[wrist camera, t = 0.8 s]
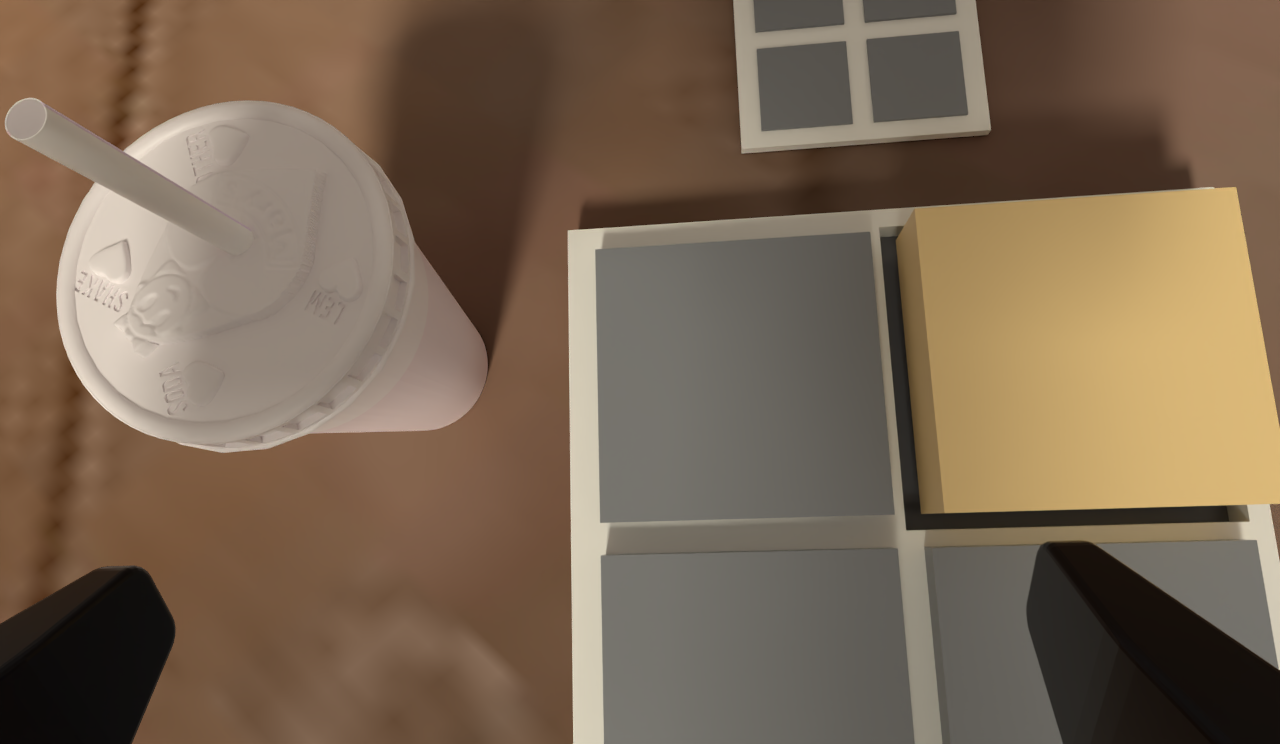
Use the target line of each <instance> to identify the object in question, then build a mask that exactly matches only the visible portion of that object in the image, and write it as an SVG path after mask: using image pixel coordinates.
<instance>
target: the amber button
mask: <svg viewBox="0 0 1280 744" xmlns="http://www.w3.org/2000/svg"><path fill="white" fill-rule="evenodd" d="M896 249H897V260H898V271H899V282H900V292H901V303H902V314H903V325H904V335H905V346H906V357H907V368H908V378H909V389H910V400H911V411H912V421H913V432H914V443H915V454H916V464H917V475H918V486H919V497H920V507H921V514H935V513H971V512H1006V511H1042V510H1077V509H1113V508H1148V507H1184V506H1219V505H1254V504H1280V428H1279V422H1278V417H1277V411H1276V406H1275V400H1274V395H1273V389H1272V384H1271V378H1270V372H1269V367H1268V361H1267V356H1266V350H1265V345H1264V339H1263V334H1262V328H1261V323H1260V317H1259V312H1258V306H1257V300H1256V295H1255V289H1254V284H1253V278H1252V273H1251V267H1250V262H1249V256H1248V251H1247V245H1246V240H1245V234H1244V228H1243V223H1242V217H1241V212H1240V206H1239V201H1238V195H1237V190H1236V187H1230V188H1215V189H1200V190H1185V191H1170V192H1155V193H1140V194H1125V195H1110V196H1095V197H1080V198H1066V199H1051V200H1036V201H1021V202H1006V203H991V204H976V205H961V206H946V207H931V208H916V209H914V210H913V212H912V214H911V216H910V217H909V219H908V221H907V222H906V224H905V226H904V227H903V229H902V231H901V232H900V234H899V236H898V237H897V239H896Z"/></svg>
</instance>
